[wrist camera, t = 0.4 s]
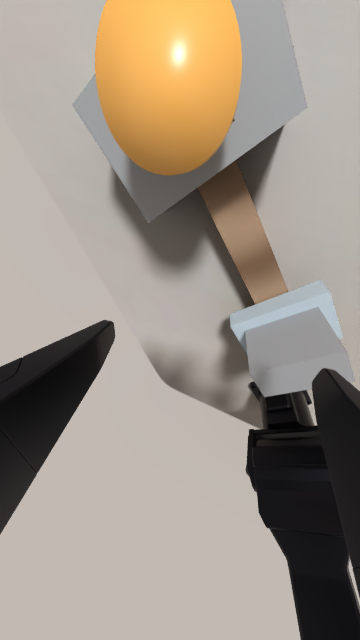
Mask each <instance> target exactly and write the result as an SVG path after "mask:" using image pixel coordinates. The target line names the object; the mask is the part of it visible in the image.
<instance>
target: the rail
mask: <svg viewBox="0 0 360 640" xmlns="http://www.w3.org/2000/svg"><path fill="white" fill-rule="evenodd" d="M198 190H199V192H200V194H201V196H202V198H203V200H204V203H205V205H206V207H207V209H208V211H209V213H210V215H211V217H212V219H213V221H214V223H215V225H216V227H217V229H218V231H219V233H220V235H221V237H222V239H223V241H224V243H225V245H226V247H227V249H228V251H229V253H230V255H231V257H232V259H233V261H234V263H235V265H236V267H237V269H238V271H239V273H240V275H241V277H242V279H243V281H244V283H245V285H246V287H247V289H248V291H249V293H250V295H251V297H252V299H253V301H254V303H255V304H258V303H261V302H263V301H266V300H269V299H271V298H274V297H277V296H279V295H282V294H284V293H287V292H288V290H287V287H286V285H285V282H284V280H283V277H282V275H281V272H280V270H279V267H278V264H277V262H276V259H275V257H274V254H273V252H272V249H271V247H270V244H269V242H268V239H267V237H266V234H265V232H264V229H263V226H262V224H261V221H260V219H259V216H258V214H257V211H256V209H255V206H254V204H253V201H252V199H251V196H250V194H249V191H248V189H247V186H246V183H245V181H244V178H243V176H242V173H241V171H240V168H239V166H238V163H237V161H236V160H235V161H234V162H232V163H231V164H229V165H228V166H227V167H225V168H224V169H223V170H221V171H220V172H218V173H217V174H216V175H214V176H213V177H212V178H210V179H209V180H207V181H206V182H205V183H203V184H202V185H201V186H199V187H198Z"/></svg>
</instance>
